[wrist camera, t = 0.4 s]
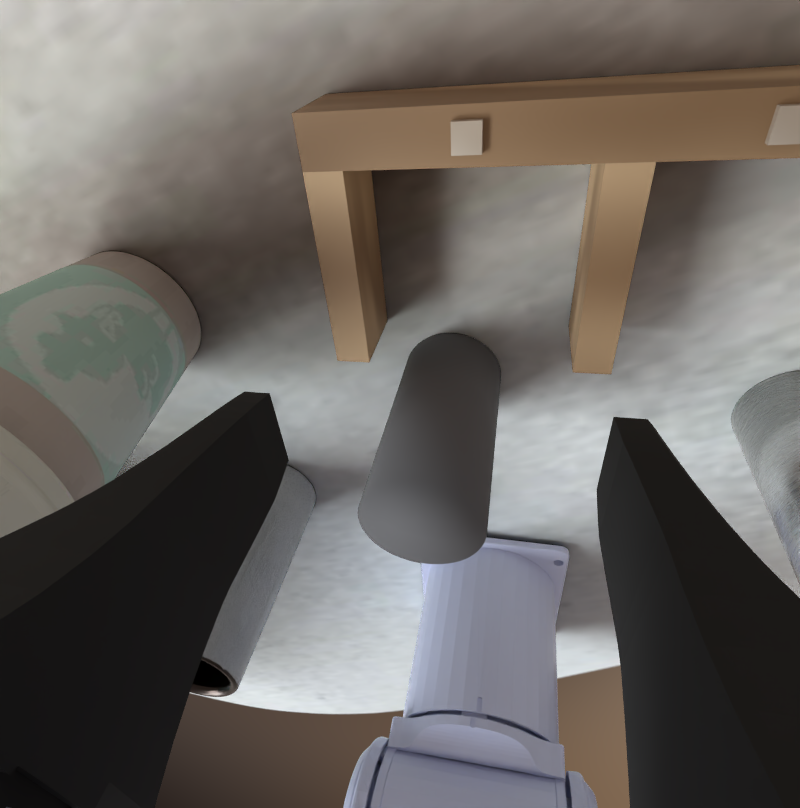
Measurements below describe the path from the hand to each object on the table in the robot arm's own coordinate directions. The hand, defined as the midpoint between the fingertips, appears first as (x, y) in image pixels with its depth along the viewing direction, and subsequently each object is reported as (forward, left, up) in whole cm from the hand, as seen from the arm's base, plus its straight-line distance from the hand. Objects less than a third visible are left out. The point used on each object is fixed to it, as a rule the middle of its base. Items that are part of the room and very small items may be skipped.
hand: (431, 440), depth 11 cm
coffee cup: (-3, +15, -10) cm, 18 cm away
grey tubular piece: (-14, +11, -10) cm, 20 cm away
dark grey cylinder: (-5, +1, -10) cm, 11 cm away
